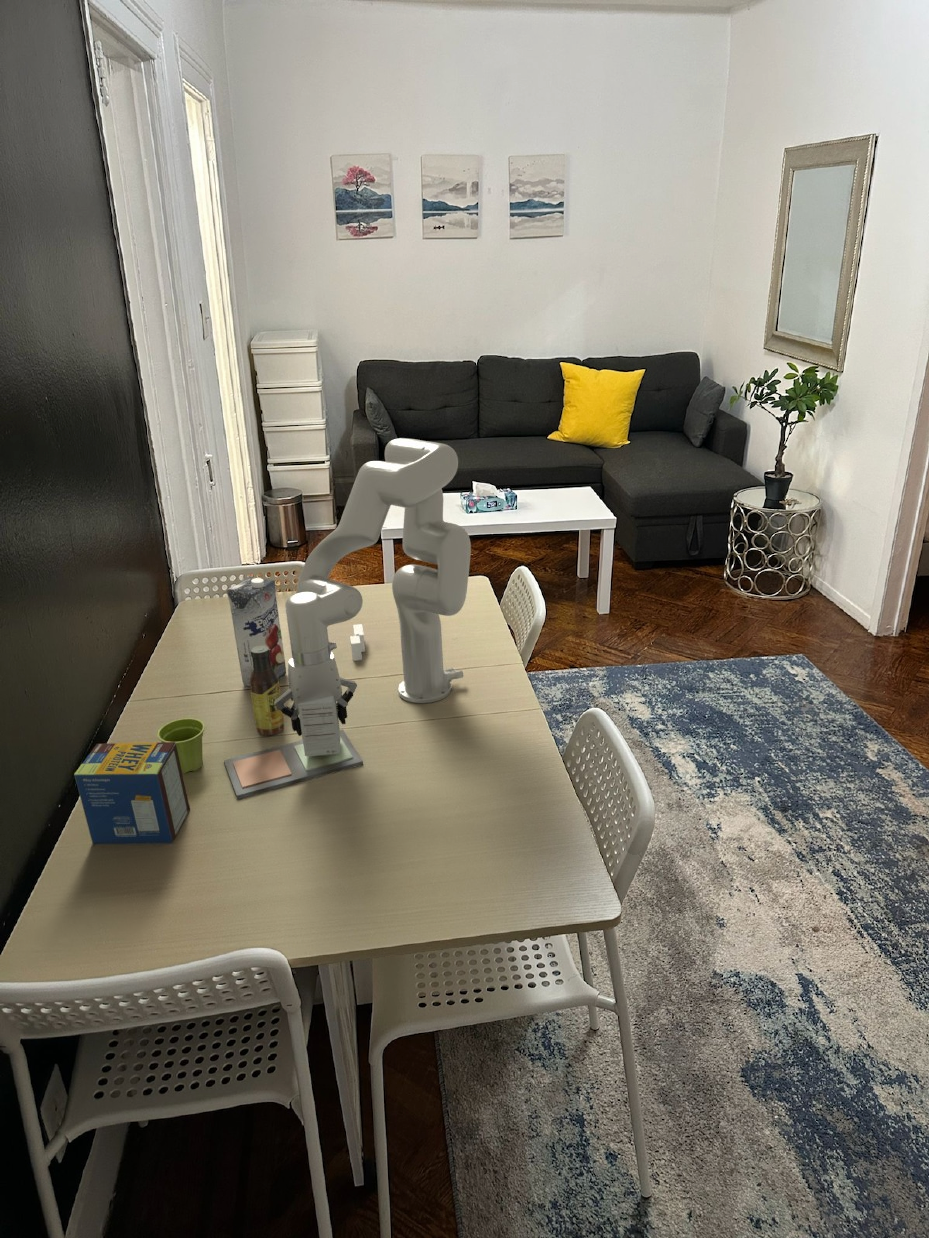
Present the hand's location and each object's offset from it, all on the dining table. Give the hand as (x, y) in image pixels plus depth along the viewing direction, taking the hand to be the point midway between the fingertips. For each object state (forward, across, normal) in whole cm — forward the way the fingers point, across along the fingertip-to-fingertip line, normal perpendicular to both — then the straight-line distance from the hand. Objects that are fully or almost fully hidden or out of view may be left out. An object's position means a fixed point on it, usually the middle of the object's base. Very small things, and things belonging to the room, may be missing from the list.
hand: (320, 726), depth 184 cm
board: (+7, +7, 0) cm, 10 cm away
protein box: (+7, +38, +8) cm, 39 cm away
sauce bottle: (+7, +8, -16) cm, 19 cm away
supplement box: (+5, 0, 0) cm, 5 cm away
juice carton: (+7, +4, -40) cm, 41 cm away
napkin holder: (+8, -21, -44) cm, 50 cm away
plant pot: (+7, +27, -10) cm, 29 cm away
